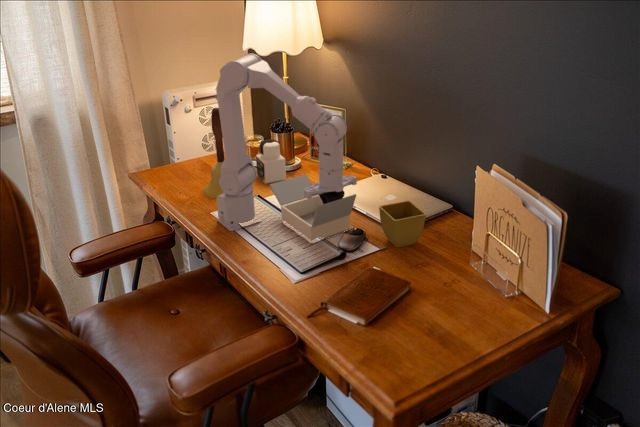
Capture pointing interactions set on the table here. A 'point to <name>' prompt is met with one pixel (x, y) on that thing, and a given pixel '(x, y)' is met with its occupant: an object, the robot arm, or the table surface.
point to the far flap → (290, 189)
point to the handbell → (214, 186)
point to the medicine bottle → (270, 162)
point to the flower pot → (402, 222)
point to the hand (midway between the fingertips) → (330, 216)
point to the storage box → (303, 216)
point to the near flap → (333, 210)
